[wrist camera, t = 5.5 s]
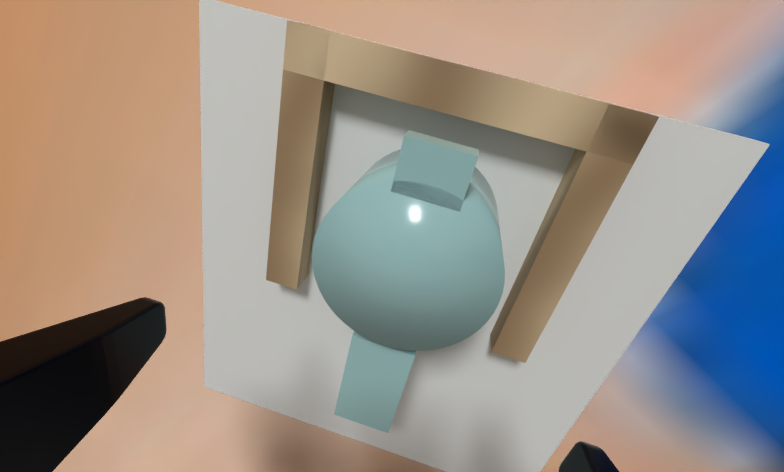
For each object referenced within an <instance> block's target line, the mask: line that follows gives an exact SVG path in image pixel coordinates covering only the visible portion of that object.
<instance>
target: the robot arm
mask: <svg viewBox="0 0 784 472" xmlns="http://www.w3.org/2000/svg"><path fill="white" fill-rule="evenodd" d="M165 335H166V317H165V307H164V305H163V303H161V302H159V301H156V300H153V299H150V298H139V299H136V300H133V301H129V302H126V303H123V304H120V305H117V306H113V307H110V308H107V309H104V310H101V311H97V312H94V313H91V314H88V315H85V316H81V317H78V318H75V319H72V320H69V321H65V322H62V323H59V324H56V325H52V326H49V327H46V328H43V329H40V330H36V331H33V332H30V333H27V334H24V335H20V336H17V337H14V338H11V339H8V340H4V341H1V342H0V472H52V471H53V470H54V469H55V468H56V467H57V466H58V465H59V464H60V463H61V462H62V461H63V459H64V458H65V457H66V456H67V455H68V454H69V453H70V452H71V451H72V450H73V449H74V447H75V446H76V445H77V444H78V443H79V442H80V441H81V440H82V439H83V438H84V437H85V436H86V434H87V433H88V432H89V431H90V430H91V429H92V428H93V427H94V426H95V425H96V424H97V422H98V421H99V420H100V419H101V418H102V417H103V416H104V415H105V414H106V413H107V411H108V410H109V409H110V408H111V407H112V406H113V405H114V404H115V402H116V401H117V400H118V399H119V397H120V396H121V395H122V394H123V392H124V391H125V390H126V388H127V387H128V386H129V385H130V383H131V382H132V381H133V379H134V378H135V377H136V375H137V374H138V373H139V371H140V370H141V369H142V368H143V366H144V365H145V364H146V362H147V361H148V360H149V358H150V357H151V356H152V354H153V353H154V352H155V351H156V349H157V348H158V347H159V345H160V344H161V343H162V341H163V339H164V338H165ZM559 472H619V471H618V469H617V468H616V467H615V465H614V464H613V463H612V461H611V460H610V459H609V457H608V456H607V455H606V453H605V452H604V451H603V450H602V449H601V448H599V447H597V446H594V445H591V444H588V443H585V442H578V443H576V444H575V445H574V447H573V448H572V449H571V451H570V452H569V454H568V455H567V456H566V458H565V459H564V460H563V462H562V463H561V465H560V468H559Z"/></svg>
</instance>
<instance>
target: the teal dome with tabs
mask: <svg viewBox="0 0 784 472" xmlns="http://www.w3.org/2000/svg"><path fill="white" fill-rule="evenodd" d="M478 157H479V149H475V148H471V147H468V146H464V145H461V144H457V143H453V142H450V141H446V140H443V139H439V138H435V137H432V136H428V135H425V134H421V133H417V132H414V131H410V130H409V131H408V132H407V133H406V134H405V135H404V137H403V142H402V146H401V149H400V150H397V151H394V152H392V153H390V154H388V155H386V156H384V157H383V158H381V159H380V160H378V161H377V162H376V163H375V164H374V165H373V166H371V167H370V168H369V169H368V170H367V171H366V172H365V174H364V175H363V176H362V177H361V178H360V179H359V180H358V181H357V182H356V183H355V184H354V185H353V186H352V187H351V188H350V189H349V190H348V191H347V192H346V193H345V194H344V195H343V196H342V197H341V198H340V199H339V200H338V201H337V202H336V203H335V204H334V206H333V207H332V208H331V209H330V210H329V211H328V213H327V214H326V215H325V216H324V218H323V220H322V221H321V223H320V225H319V227H318V230H317V232H316V235H315V238H314V243H313V249H312V265H313V272H314V276H315V280H316V283H317V286H318V288H319V290H320V292H321V294H322V296H323V298H324V300H325V301H326V303H327V304H328V306H329V307H330V308H331V310H332V311H333V312H334V313H335V314H336V316H337V317H338V318H339V319H341V320H342V321H343V322H344V323H345V324H346V325H347V326H349V327H350V328H351V329H352V330H354V333H353V335H352V339H351V343H350V348H349V352H348V356H347V360H346V365H345V369H344V373H343V378H342V382H341V386H340V390H339V395H338V399H337V403H336V408H335V412H334V415H337V416H340V417H343V418H346V419H348V420H351V421H354V422H357V423H360V424H363V425H366V426H369V427H371V428H374V429H377V430H380V431H383V432H386V433H389V430H390V427H391V424H392V421H393V418H394V416H395V413H396V410H397V407H398V404H399V401H400V398H401V396H402V393H403V390H404V387H405V384H406V381H407V378H408V375H409V373H410V370H411V367H412V364H413V361H414V358H415V355H416V351H427V350H435V349H441V348H444V347H448V346H451V345H454V344H456V343H459V342H461V341H463V340H465V339H467V338H468V337H470V336H472V335H473V334H474V333H476V332H477V331H478V330H480V329H481V328H482V327H483V326H484V325H485V324H486V323H487V322H488V320H489V319H490V318H491V316H492V315H493V314H494V312H495V310H496V308H497V306H498V305H499V302H500V299H501V296H502V294H503V288H504V283H505V267H504V259H503V251H502V242H501V234H500V226H499V218H498V210H497V203H496V199H495V196H494V193H493V191H492V189H491V186H490V185H489V183H488V182H487V180H486V178H485V177H484V176H483V175H482V173H481V172H480V171H479V170H478V169H477V168H476V167H475V166H476V163H477V160H478Z"/></svg>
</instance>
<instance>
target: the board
mask: <svg viewBox="0 0 784 472" xmlns="http://www.w3.org/2000/svg"><path fill="white" fill-rule="evenodd" d="M199 19H200V91H201V163H202V235H203V307H204V379H205V387H206V388H209V389H212V390H215V391H217V392H220V393H223V394H226V395H229V396H232V397H235V398H237V399H240V400H243V401H246V402H249V403H252V404H255V405H257V406H260V407H263V408H266V409H269V410H272V411H274V412H277V413H280V414H283V415H286V416H289V417H292V418H294V419H297V420H300V421H303V422H306V423H309V424H312V425H314V426H317V427H320V428H323V429H326V430H329V431H331V432H334V433H337V434H340V435H343V436H346V437H349V438H351V439H354V440H357V441H360V442H363V443H366V444H369V445H371V446H374V447H377V448H380V449H383V450H386V451H388V452H391V453H394V454H397V455H400V456H403V457H406V458H408V459H411V460H414V461H417V462H420V463H423V464H426V465H428V466H431V467H434V468H437V469H440V470H443V471H445V472H540V471H541V470H542V468H543V467H544V465H545V464H546V463H547V461H548V460H549V458H550V457H551V455H552V454H553V453H554V451H555V450H556V448H557V447H558V445H559V444H560V443H561V441H562V440H563V438H564V437H565V436H566V434H567V433H568V431H569V430H570V428H571V427H572V426H573V424H574V423H575V421H576V420H577V418H578V417H579V416H580V414H581V413H582V411H583V410H584V408H585V407H586V406H587V404H588V403H589V401H590V400H591V399H592V397H593V396H594V394H595V393H596V391H597V390H598V389H599V387H600V386H601V384H602V383H603V381H604V380H605V379H606V377H607V376H608V374H609V373H610V371H611V370H612V369H613V367H614V366H615V364H616V363H617V361H618V360H619V359H620V357H621V356H622V354H623V353H624V352H625V350H626V349H627V347H628V346H629V344H630V343H631V342H632V340H633V339H634V337H635V336H636V334H637V333H638V332H639V330H640V329H641V327H642V326H643V324H644V323H645V322H646V320H647V319H648V317H649V316H650V315H651V313H652V312H653V310H654V309H655V307H656V306H657V305H658V303H659V302H660V300H661V299H662V297H663V296H664V295H665V293H666V292H667V290H668V289H669V287H670V286H671V285H672V283H673V282H674V280H675V279H676V277H677V276H678V275H679V273H680V272H681V270H682V269H683V268H684V266H685V265H686V263H687V262H688V260H689V259H690V258H691V256H692V255H693V253H694V252H695V250H696V249H697V248H698V246H699V245H700V243H701V242H702V240H703V239H704V238H705V236H706V235H707V233H708V232H709V231H710V229H711V228H712V226H713V225H714V223H715V222H716V221H717V219H718V218H719V216H720V215H721V213H722V212H723V211H724V209H725V208H726V206H727V205H728V203H729V202H730V201H731V199H732V198H733V196H734V195H735V194H736V192H737V191H738V189H739V188H740V186H741V185H742V184H743V182H744V181H745V179H746V178H747V176H748V175H749V174H750V172H751V171H752V169H753V168H754V166H755V165H756V164H757V162H758V161H759V159H760V158H761V156H762V155H763V154H764V152H765V151H766V149H767V148H768V147H769V145H770V144H767V143H764V142H760V141H757V140H754V139H750V138H746V137H742V136H738V135H735V134H731V133H727V132H723V131H719V130H715V129H711V128H708V127H704V126H700V125H696V124H692V123H688V122H684V121H680V120H677V119H673V118H669V117H665V116H661V115H657V114H653V113H650V112H646V111H643V112H646V113H649V114H652V115H655V116H658V117H659V118H658V120H657V122H656V124H655V126H654V128H653V129H652V131H651V133H650V135H649V137H648V139H647V140H646V142H645V144H644V146H643V148H642V150H641V151H640V153H639V155H638V157H637V159H636V161H635V162H634V164H633V166H632V168H631V170H630V172H629V174H628V175H627V177H626V179H625V181H624V183H623V185H622V186H621V188H620V190H619V192H618V194H617V196H616V197H615V199H614V201H613V203H612V205H611V207H610V208H609V210H608V212H607V214H606V216H605V218H604V219H603V221H602V223H601V225H600V227H599V229H598V230H597V232H596V234H595V236H594V238H593V240H592V242H591V243H590V245H589V247H588V249H587V251H586V253H585V254H584V256H583V258H582V260H581V262H580V264H579V265H578V267H577V269H576V271H575V273H574V275H573V276H572V278H571V280H570V282H569V284H568V286H567V287H566V289H565V291H564V293H563V295H562V297H561V298H560V300H559V302H558V304H557V306H556V308H555V309H554V311H553V313H552V315H551V317H550V319H549V321H548V322H547V324H546V326H545V328H544V330H543V332H542V333H541V335H540V337H539V339H538V341H537V343H536V344H535V346H534V348H533V350H532V352H531V354H530V355H529V357H528V359H527V361H526V363H523V362H520V361H517V360H514V359H511V358H508V357H505V356H502V355H498V354H495V353H492V352H491V336H490V334H491V332H492V330H493V327H494V325H495V323H496V321H497V319H498V317H499V314H500V312H501V310H502V308H503V306H504V303H505V301H506V299H507V297H508V295H509V293H510V290H511V288H512V286H513V284H514V282H515V280H516V277H517V275H518V273H519V271H520V269H521V267H522V264H523V262H524V260H525V258H526V256H527V254H528V251H529V249H530V247H531V245H532V243H533V240H534V238H535V236H536V234H537V232H538V230H539V227H540V225H541V223H542V221H543V219H544V217H545V214H546V212H547V210H548V208H549V206H550V204H551V201H552V199H553V197H554V195H555V193H556V190H557V188H558V186H559V184H560V182H561V180H562V177H563V175H564V173H565V171H566V169H567V167H568V164H569V162H570V160H571V158H572V156H573V154H574V151H575V148H571V147H568V146H564V145H560V144H557V143H553V142H549V141H546V140H542V139H538V138H534V137H531V136H527V135H523V134H520V133H516V132H512V131H509V130H505V129H501V128H498V127H494V126H490V125H486V124H483V123H479V122H475V121H472V120H468V119H464V118H461V117H457V116H453V115H450V114H446V113H442V112H438V111H435V110H431V109H427V108H424V107H420V106H416V105H413V104H409V103H405V102H401V101H398V100H394V99H390V98H387V97H383V96H379V95H376V94H372V93H368V92H365V91H361V90H357V89H353V88H350V87H346V86H342V85H339V84H335V87H334V94H333V101H332V108H331V115H330V122H329V129H328V136H327V143H326V150H325V157H324V164H323V171H322V177H321V184H320V191H319V198H318V205H317V212H316V219H315V226H314V233H313V240H312V247H311V254H310V261H309V268H308V275H307V277H306V278H305V280H304V281H303V282H302V284H301V285H300V286H299V287H298V289H297V290H296V289H293V288H290V287H287V286H283V285H280V284H277V283H274V282H271V281H268V280H266V272H267V260H268V248H269V236H270V223H271V211H272V199H273V186H274V174H275V162H276V150H277V137H278V125H279V113H280V100H281V88H282V76H283V64H284V51H285V39H286V27H287V21H292V22H298V21H294V20H290V19H286V18H282V17H278V16H275V15H271V14H267V13H263V12H259V11H255V10H251V9H248V8H244V7H240V6H236V5H232V4H228V3H224V2H221V1H217V0H199ZM298 23H302V22H298ZM303 24H306V23H303ZM307 25H309V24H307ZM311 26H313V25H311ZM315 27H317V26H315ZM318 28H321V27H318ZM322 29H325V28H322ZM326 30H329V29H326ZM330 31H333V30H330ZM334 32H336V31H334ZM338 33H340V32H338ZM342 34H344V33H342ZM345 35H348V34H345ZM349 36H352V35H349ZM353 37H356V36H353ZM357 38H360V37H357ZM361 39H364V38H361ZM365 40H367V39H365ZM369 41H371V40H369ZM372 42H375V41H372ZM376 43H379V42H376ZM380 44H383V43H380ZM384 45H387V44H384ZM388 46H391V45H388ZM392 47H394V46H392ZM396 48H398V47H396ZM400 49H402V48H400ZM403 50H406V49H403ZM407 51H410V50H407ZM411 52H414V51H411ZM415 53H418V52H415ZM419 54H422V53H419ZM423 55H425V54H423ZM427 56H429V55H427ZM430 57H433V56H430ZM434 58H437V57H434ZM438 59H441V58H438ZM442 60H445V59H442ZM446 61H449V60H446ZM450 62H452V61H450ZM454 63H456V62H454ZM457 64H460V63H457ZM461 65H464V64H461ZM465 66H468V65H465ZM469 67H472V66H469ZM473 68H476V67H473ZM477 69H479V68H477ZM481 70H483V69H481ZM484 71H487V70H484ZM488 72H491V71H488ZM492 73H495V72H492ZM496 74H499V73H496ZM500 75H503V74H500ZM504 76H507V75H504ZM508 77H510V76H508ZM512 78H514V77H512ZM515 79H518V78H515ZM519 80H522V79H519ZM523 81H526V80H523ZM527 82H530V81H527ZM531 83H534V82H531ZM535 84H537V83H535ZM539 85H541V84H539ZM542 86H545V85H542ZM546 87H549V86H546ZM550 88H553V87H550ZM554 89H557V88H554ZM558 90H561V89H558ZM562 91H565V90H562ZM566 92H568V91H566ZM569 93H572V92H569ZM573 94H576V93H573ZM577 95H580V94H577ZM581 96H584V95H581ZM585 97H588V96H585ZM589 98H592V97H589ZM593 99H595V98H593ZM597 100H599V99H597ZM600 101H603V100H600ZM604 102H607V101H604ZM608 103H611V102H608ZM612 104H615V103H612ZM616 105H619V104H616ZM620 106H622V105H620ZM624 107H626V106H624ZM627 108H630V107H627ZM631 109H634V108H631ZM635 110H638V109H635ZM639 111H642V110H639ZM409 130H410V131H414V132H417V133H421V134H425V135H428V136H432V137H435V138H439V139H443V140H446V141H450V142H453V143H457V144H461V145H464V146H468V147H471V148H475V149H479V157H478V160H477V163H476V166H475V167H476V168H477V169H478V170H479V171H480V172H481V173H482V175H483V176H484V177H485V178H486V180H487V182H488V183H489V185H490V186H491V189H492V191H493V193H494V196H495V199H496V203H497V210H498V218H499V226H500V234H501V242H502V251H503V259H504V267H505V283H504V288H503V294H502V296H501V299H500V302H499V305H498V306H497V308H496V310H495V312H494V314H493V315H492V316H491V318H490V319H489V320H488V322H487V323H486V324H485V325H484V326H483V327H482V328H481V329H480V330H478V331H477V332H476V333H474V334H473V335H472V336H470V337H468V338H467V339H465V340H463V341H461V342H459V343H456V344H454V345H451V346H448V347H444V348H441V349H435V350H427V351H416V355H415V358H414V361H413V364H412V367H411V370H410V373H409V375H408V378H407V381H406V384H405V387H404V390H403V393H402V396H401V398H400V401H399V404H398V407H397V410H396V413H395V416H394V418H393V421H392V424H391V427H390V430H389V433H386V432H383V431H380V430H377V429H374V428H371V427H369V426H366V425H363V424H360V423H357V422H354V421H351V420H348V419H346V418H343V417H340V416H337V415H334V412H335V408H336V403H337V399H338V395H339V390H340V386H341V382H342V378H343V373H344V369H345V365H346V360H347V356H348V352H349V348H350V343H351V339H352V335H353V333H354V330H352V329H351V328H350V327H349V326H347V325H346V324H345V323H344V322H343V321H342V320H341V319H339V318H338V317H337V316H336V314H335V313H334V312H333V311H332V310H331V308H330V307H329V306H328V304H327V303H326V301H325V300H324V298H323V296H322V294H321V292H320V290H319V288H318V286H317V283H316V280H315V276H314V272H313V265H312V249H313V243H314V238H315V235H316V232H317V230H318V227H319V225H320V223H321V221H322V220H323V218H324V216H325V215H326V214H327V213H328V211H329V210H330V209H331V208H332V207H333V206H334V204H335V203H336V202H337V201H338V200H339V199H340V198H341V197H342V196H343V195H344V194H345V193H346V192H347V191H348V190H349V189H350V188H351V187H352V186H353V185H354V184H355V183H356V182H357V181H358V180H359V179H360V178H361V177H362V176H363V175H364V174H365V172H366V171H367V170H368V169H369V168H370V167H371V166H373V165H374V164H375V163H376V162H377V161H378V160H380V159H381V158H383V157H384V156H386V155H388V154H390V153H392V152H394V151H397V150H400V149H401V146H402V142H403V137H404V135H405V134H406V133H407V132H408V131H409Z"/></svg>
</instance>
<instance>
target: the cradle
mask: <svg viewBox="0 0 784 472" xmlns="http://www.w3.org/2000/svg"><path fill="white" fill-rule="evenodd" d="M335 84H339V85H342V86H346V87H350V88H353V89H357V90H361V91H365V92H368V93H372V94H376V95H379V96H383V97H387V98H390V99H394V100H398V101H401V102H405V103H409V104H413V105H416V106H420V107H424V108H427V109H431V110H435V111H438V112H442V113H446V114H450V115H453V116H457V117H461V118H464V119H468V120H472V121H475V122H479V123H483V124H486V125H490V126H494V127H498V128H501V129H505V130H509V131H512V132H516V133H520V134H523V135H527V136H531V137H534V138H538V139H542V140H546V141H549V142H553V143H557V144H560V145H564V146H568V147H571V148H575V151H574V154H573V156H572V158H571V160H570V162H569V164H568V167H567V169H566V171H565V173H564V175H563V177H562V180H561V182H560V184H559V186H558V188H557V190H556V193H555V195H554V197H553V199H552V201H551V204H550V206H549V208H548V210H547V212H546V214H545V217H544V219H543V221H542V223H541V225H540V227H539V230H538V232H537V234H536V236H535V238H534V240H533V243H532V245H531V247H530V249H529V251H528V254H527V256H526V258H525V260H524V262H523V264H522V267H521V269H520V271H519V273H518V275H517V277H516V280H515V282H514V284H513V286H512V288H511V290H510V293H509V295H508V297H507V299H506V301H505V303H504V306H503V308H502V310H501V312H500V314H499V317H498V319H497V321H496V323H495V325H494V327H493V330H492V332H491V334H490V336H491V352H492V353H495V354H498V355H502V356H505V357H508V358H511V359H514V360H517V361H520V362H523V363H526V361H527V359H528V357H529V355H530V354H531V352H532V350H533V348H534V346H535V344H536V343H537V341H538V339H539V337H540V335H541V333H542V332H543V330H544V328H545V326H546V324H547V322H548V321H549V319H550V317H551V315H552V313H553V311H554V309H555V308H556V306H557V304H558V302H559V300H560V298H561V297H562V295H563V293H564V291H565V289H566V287H567V286H568V284H569V282H570V280H571V278H572V276H573V275H574V273H575V271H576V269H577V267H578V265H579V264H580V262H581V260H582V258H583V256H584V254H585V253H586V251H587V249H588V247H589V245H590V243H591V242H592V240H593V238H594V236H595V234H596V232H597V230H598V229H599V227H600V225H601V223H602V221H603V219H604V218H605V216H606V214H607V212H608V210H609V208H610V207H611V205H612V203H613V201H614V199H615V197H616V196H617V194H618V192H619V190H620V188H621V186H622V185H623V183H624V181H625V179H626V177H627V175H628V174H629V172H630V170H631V168H632V166H633V164H634V162H635V161H636V159H637V157H638V155H639V153H640V151H641V150H642V148H643V146H644V144H645V142H646V140H647V139H648V137H649V135H650V133H651V131H652V129H653V128H654V126H655V124H656V122H657V120H658V118H659V117H658V116H655V115H652V114H649V113H646V112H643V111H639V110H635V109H631V108H627V107H624V106H620V105H616V104H612V103H608V102H604V101H600V100H597V99H593V98H589V97H585V96H581V95H577V94H573V93H569V92H566V91H562V90H558V89H554V88H550V87H546V86H542V85H539V84H535V83H531V82H527V81H523V80H519V79H515V78H512V77H508V76H504V75H500V74H496V73H492V72H488V71H484V70H481V69H477V68H473V67H469V66H465V65H461V64H457V63H454V62H450V61H446V60H442V59H438V58H434V57H430V56H427V55H423V54H419V53H415V52H411V51H407V50H403V49H400V48H396V47H392V46H388V45H384V44H380V43H376V42H372V41H369V40H365V39H361V38H357V37H353V36H349V35H345V34H342V33H338V32H334V31H330V30H326V29H322V28H318V27H315V26H311V25H307V24H303V23H298V22H292V21H287V27H286V39H285V51H284V64H283V76H282V88H281V100H280V113H279V125H278V137H277V150H276V162H275V174H274V186H273V199H272V211H271V223H270V236H269V248H268V260H267V272H266V280H268V281H271V282H274V283H277V284H280V285H283V286H287V287H290V288H293V289H296V290H297V289H298V287H299V286H300V285H301V284H302V282H303V281H304V280H305V278H306V277H307V275H308V268H309V261H310V254H311V247H312V240H313V233H314V226H315V219H316V212H317V205H318V198H319V191H320V184H321V177H322V171H323V164H324V157H325V150H326V143H327V136H328V129H329V122H330V115H331V108H332V101H333V94H334V87H335Z"/></svg>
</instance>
